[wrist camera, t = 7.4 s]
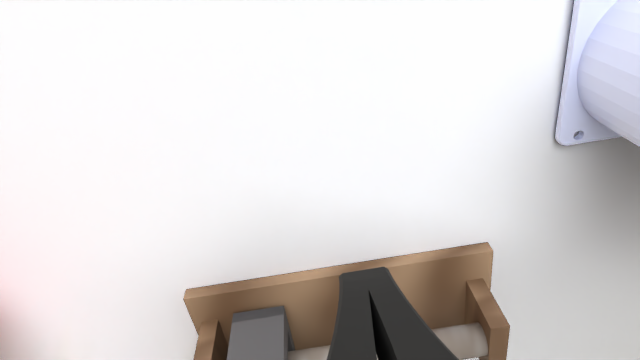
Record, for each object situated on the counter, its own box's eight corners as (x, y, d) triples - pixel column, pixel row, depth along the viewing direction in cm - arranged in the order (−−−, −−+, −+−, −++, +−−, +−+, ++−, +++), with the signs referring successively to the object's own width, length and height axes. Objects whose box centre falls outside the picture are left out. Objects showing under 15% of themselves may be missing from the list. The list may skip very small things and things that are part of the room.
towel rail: (487, 242, 26) (523, 297, 22) (481, 334, 30) (510, 393, 26) (186, 289, 26) (168, 351, 22) (220, 374, 30) (211, 439, 26)
